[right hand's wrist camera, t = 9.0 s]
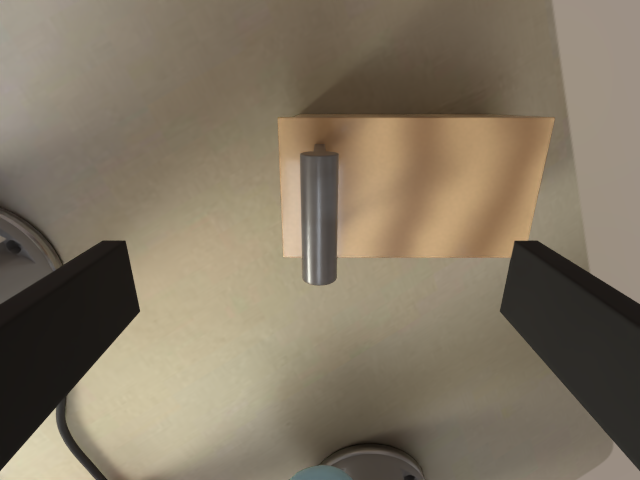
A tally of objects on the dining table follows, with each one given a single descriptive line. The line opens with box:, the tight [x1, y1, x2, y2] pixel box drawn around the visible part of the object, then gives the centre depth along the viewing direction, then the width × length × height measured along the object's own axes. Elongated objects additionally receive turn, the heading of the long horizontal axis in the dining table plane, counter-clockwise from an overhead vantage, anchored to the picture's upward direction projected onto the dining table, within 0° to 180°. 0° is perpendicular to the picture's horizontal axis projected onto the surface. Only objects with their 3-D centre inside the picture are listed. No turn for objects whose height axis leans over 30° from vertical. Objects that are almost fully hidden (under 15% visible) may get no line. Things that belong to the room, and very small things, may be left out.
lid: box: [278, 117, 555, 285], centre depth 21 cm, size 18×10×8 cm, turn 90°
